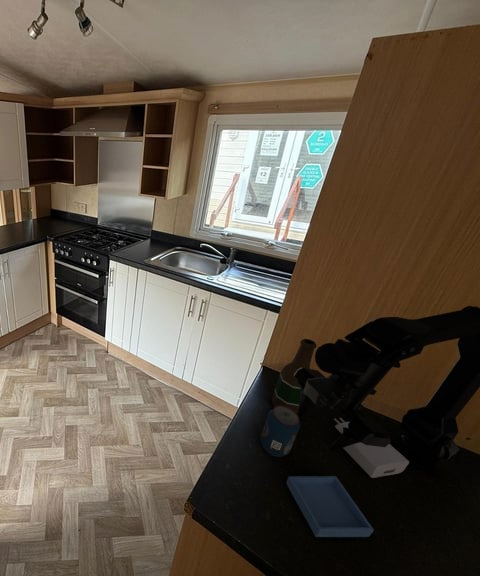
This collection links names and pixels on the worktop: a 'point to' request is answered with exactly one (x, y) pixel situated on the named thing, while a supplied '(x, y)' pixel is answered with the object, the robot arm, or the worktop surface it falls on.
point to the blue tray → (328, 507)
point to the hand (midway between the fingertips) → (314, 431)
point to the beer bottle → (286, 385)
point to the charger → (375, 457)
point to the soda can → (280, 431)
